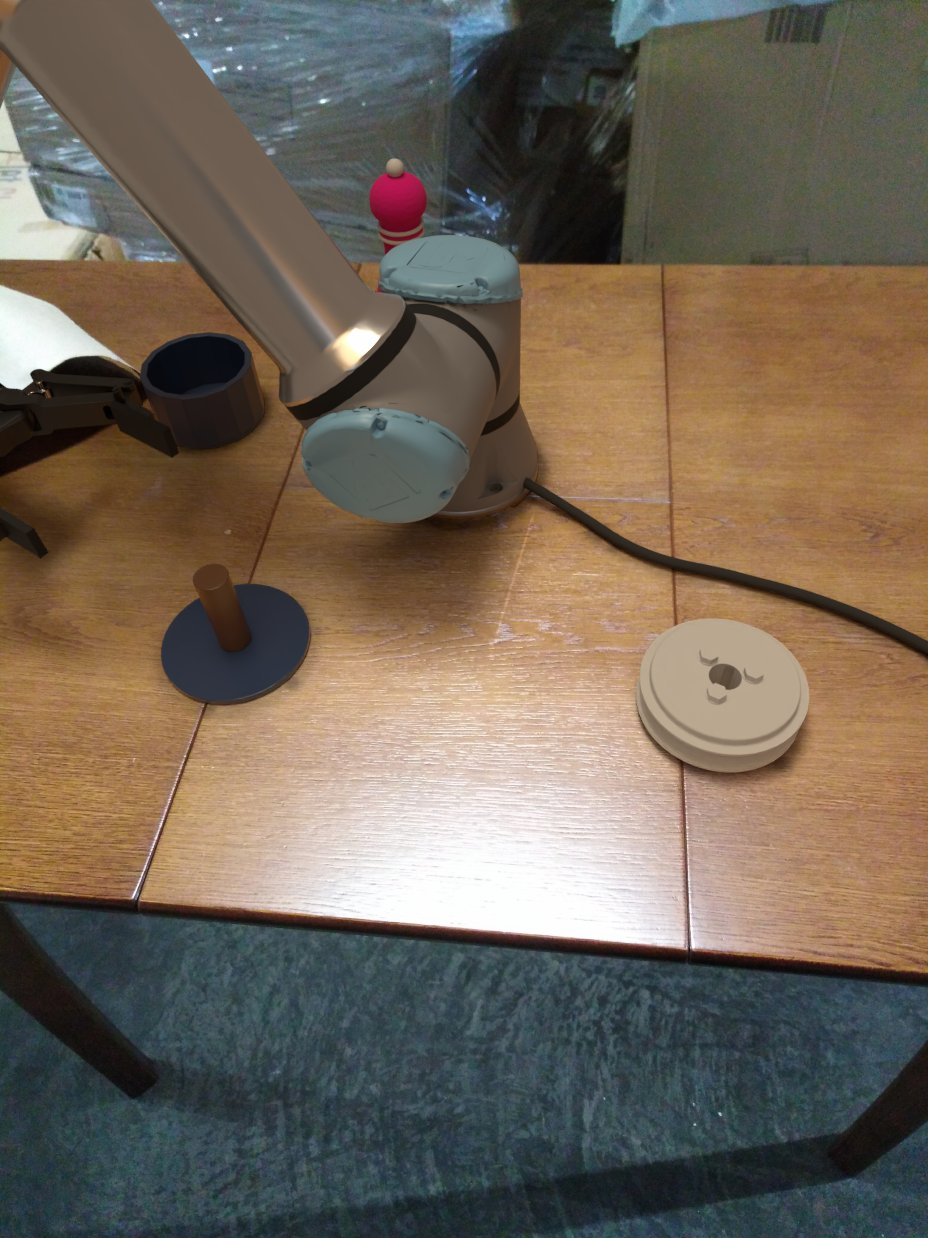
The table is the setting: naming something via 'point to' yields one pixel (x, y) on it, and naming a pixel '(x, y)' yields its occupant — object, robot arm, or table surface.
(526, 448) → the robot arm
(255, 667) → the bowl lid
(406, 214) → the pepper mill
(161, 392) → the bowl
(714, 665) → the beige round base
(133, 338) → the table surface
